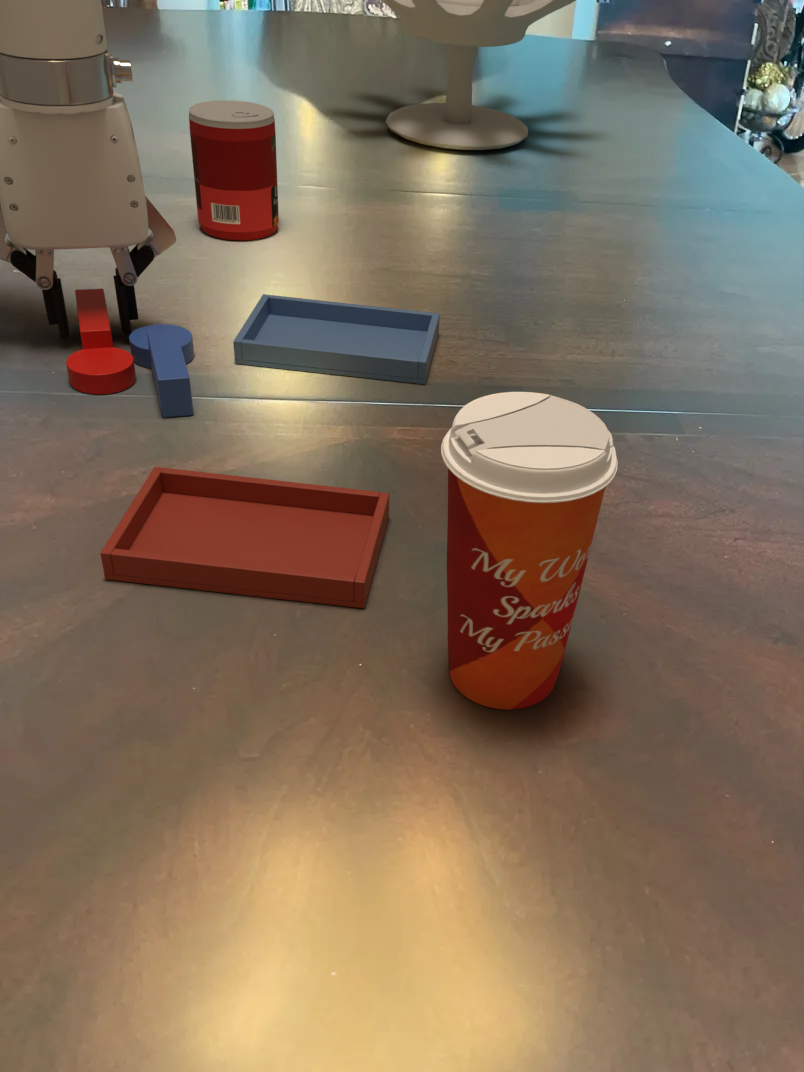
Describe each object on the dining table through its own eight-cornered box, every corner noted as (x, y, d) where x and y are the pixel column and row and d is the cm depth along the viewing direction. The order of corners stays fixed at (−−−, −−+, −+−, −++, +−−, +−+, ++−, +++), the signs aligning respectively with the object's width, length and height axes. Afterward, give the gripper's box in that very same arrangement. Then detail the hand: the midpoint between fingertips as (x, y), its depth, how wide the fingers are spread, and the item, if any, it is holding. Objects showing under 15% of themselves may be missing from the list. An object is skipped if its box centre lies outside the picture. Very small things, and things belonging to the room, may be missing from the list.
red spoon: (64, 326, 86) (57, 290, 84) (125, 322, 87) (120, 287, 86) (71, 397, 77) (63, 358, 75) (139, 391, 79) (133, 354, 77)
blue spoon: (211, 413, 77) (208, 376, 75) (143, 419, 75) (138, 381, 74) (190, 340, 86) (186, 305, 84) (129, 344, 84) (123, 308, 82)
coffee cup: (462, 741, 53) (486, 486, 44) (405, 641, 59) (416, 397, 49) (606, 704, 56) (659, 458, 47) (539, 612, 62) (573, 377, 52)
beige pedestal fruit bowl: (381, 182, 121) (385, -105, 104) (294, 103, 145) (286, -142, 128) (634, 168, 133) (676, -91, 116) (515, 97, 157) (536, -126, 140)
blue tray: (234, 363, 83) (233, 341, 82) (264, 315, 91) (262, 293, 90) (425, 384, 83) (426, 362, 82) (438, 334, 91) (439, 313, 89)
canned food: (292, 235, 106) (288, 117, 99) (217, 246, 102) (207, 124, 95) (259, 211, 111) (253, 97, 103) (186, 220, 107) (175, 102, 100)
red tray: (104, 579, 61) (99, 552, 60) (157, 491, 68) (154, 466, 67) (364, 608, 61) (364, 582, 60) (388, 517, 68) (389, 492, 67)
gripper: (173, 66, 78) (196, 305, 89) (-76, 63, 73) (-17, 317, 84) (185, 92, 72) (208, 343, 84) (-83, 91, 67) (-19, 358, 79)
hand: (95, 327), depth 84 cm, fingers open, 4 cm apart
